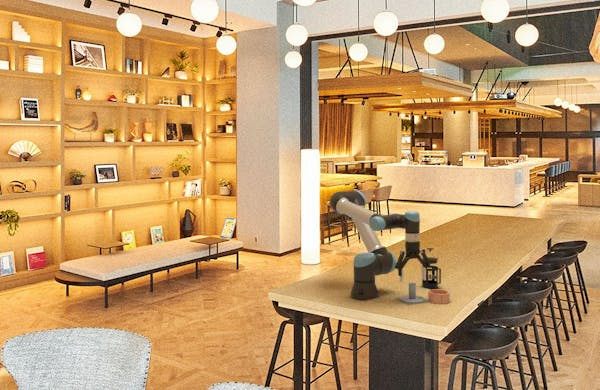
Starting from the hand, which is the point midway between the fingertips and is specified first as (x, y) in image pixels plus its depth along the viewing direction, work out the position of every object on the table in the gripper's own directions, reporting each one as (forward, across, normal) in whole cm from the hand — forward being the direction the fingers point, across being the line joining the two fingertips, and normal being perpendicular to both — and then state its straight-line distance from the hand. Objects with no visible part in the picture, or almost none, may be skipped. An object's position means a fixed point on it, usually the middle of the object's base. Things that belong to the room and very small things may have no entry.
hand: (412, 280), depth 295 cm
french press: (+11, +25, +20) cm, 34 cm away
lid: (+10, 0, 0) cm, 11 cm away
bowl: (+11, +12, -6) cm, 17 cm away
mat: (+11, 0, 0) cm, 11 cm away
